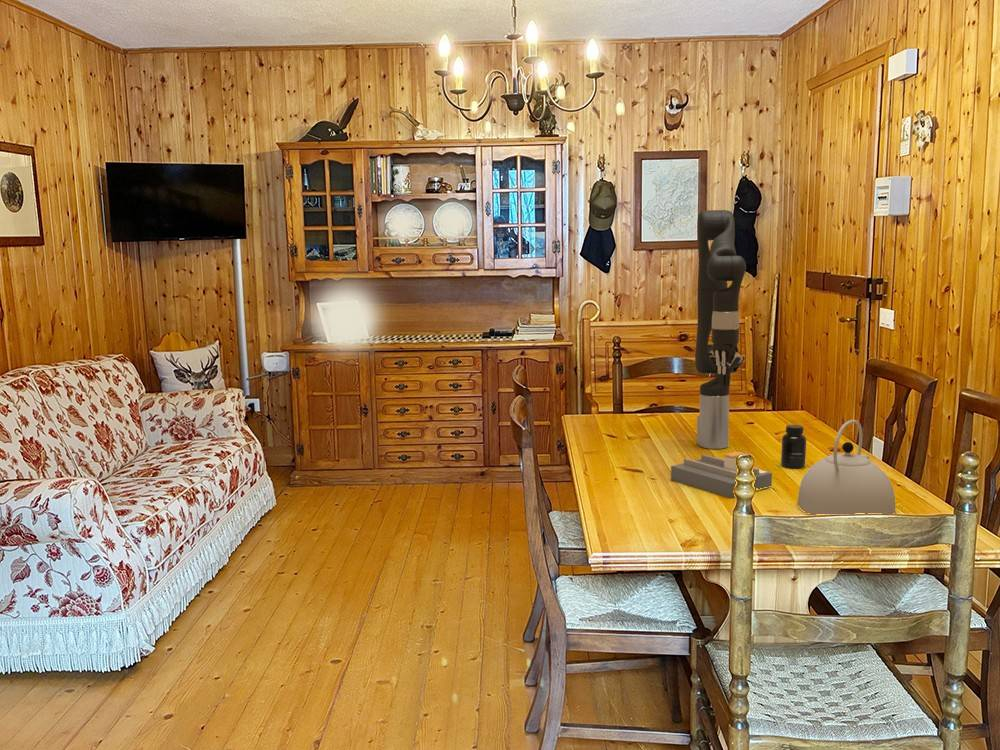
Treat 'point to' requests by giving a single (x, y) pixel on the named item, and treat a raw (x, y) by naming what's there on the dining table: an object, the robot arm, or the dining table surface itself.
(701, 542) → the dining table surface
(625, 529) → the dining table surface
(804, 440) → the supplement bottle
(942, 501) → the dining table surface
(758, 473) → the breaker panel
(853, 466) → the kettle
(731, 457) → the handle
